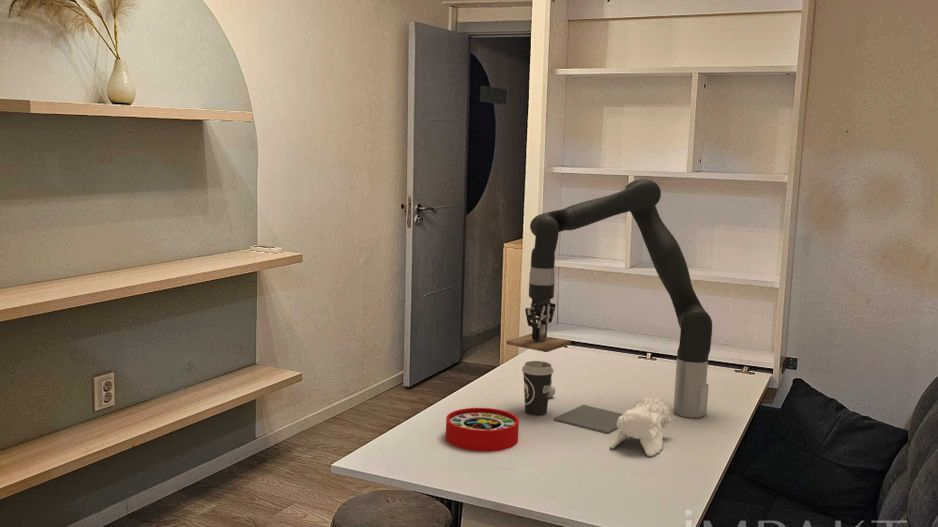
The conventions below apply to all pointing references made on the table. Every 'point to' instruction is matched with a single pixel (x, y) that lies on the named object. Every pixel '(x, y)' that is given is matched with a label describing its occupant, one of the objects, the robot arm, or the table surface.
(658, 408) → the white lumpy figure
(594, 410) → the charcoal mat
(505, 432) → the toy clock
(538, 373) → the coffee cup
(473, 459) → the table surface
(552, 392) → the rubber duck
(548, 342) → the walnut lid
